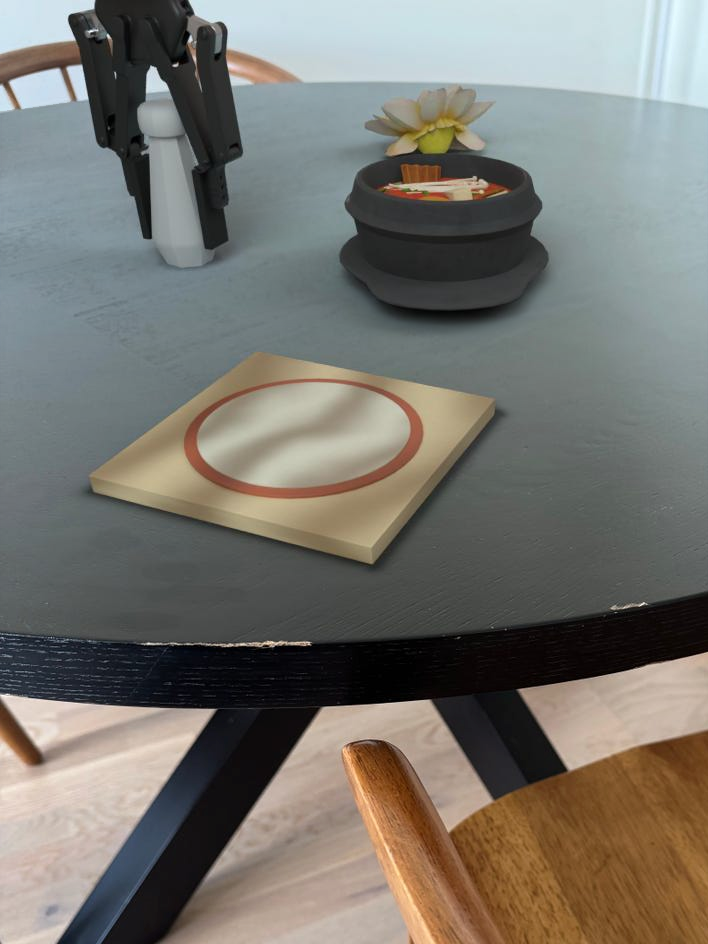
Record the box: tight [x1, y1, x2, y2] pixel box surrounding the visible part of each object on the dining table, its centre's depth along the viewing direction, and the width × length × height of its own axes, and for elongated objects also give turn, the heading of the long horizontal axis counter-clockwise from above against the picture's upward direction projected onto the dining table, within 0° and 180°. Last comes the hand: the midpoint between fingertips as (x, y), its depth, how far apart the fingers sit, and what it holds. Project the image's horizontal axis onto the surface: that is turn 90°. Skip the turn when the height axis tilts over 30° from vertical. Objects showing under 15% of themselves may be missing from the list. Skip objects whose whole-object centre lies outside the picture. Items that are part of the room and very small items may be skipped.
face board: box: [88, 350, 496, 565], centre depth 62 cm, size 19×19×2 cm
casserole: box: [338, 152, 550, 312], centre depth 83 cm, size 25×19×8 cm
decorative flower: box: [364, 84, 497, 158], centre depth 112 cm, size 15×11×10 cm
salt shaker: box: [137, 98, 216, 269], centre depth 83 cm, size 6×6×13 cm
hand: (185, 239), depth 86 cm, fingers closed on salt shaker, 6 cm apart
